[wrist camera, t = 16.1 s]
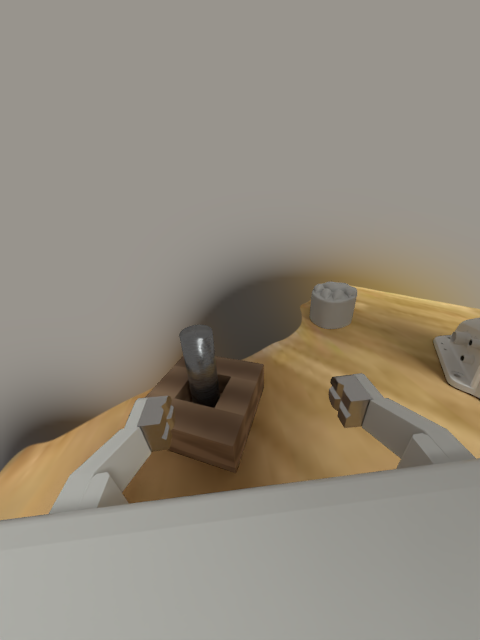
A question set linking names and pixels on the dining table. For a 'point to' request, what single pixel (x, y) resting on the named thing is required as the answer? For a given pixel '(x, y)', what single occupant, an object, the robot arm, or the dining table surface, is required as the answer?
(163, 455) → the dining table surface
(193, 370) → the dark grey rounded rod
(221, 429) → the socket block
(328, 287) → the lumpy-topped squat cylinder
